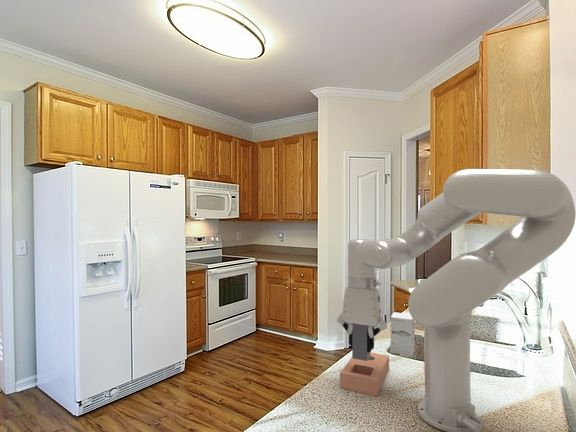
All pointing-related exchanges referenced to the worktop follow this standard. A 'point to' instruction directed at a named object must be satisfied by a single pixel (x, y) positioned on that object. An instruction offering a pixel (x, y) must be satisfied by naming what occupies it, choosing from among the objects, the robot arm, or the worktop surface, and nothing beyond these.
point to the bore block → (365, 374)
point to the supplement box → (402, 334)
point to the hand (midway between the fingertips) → (361, 348)
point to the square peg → (360, 342)
